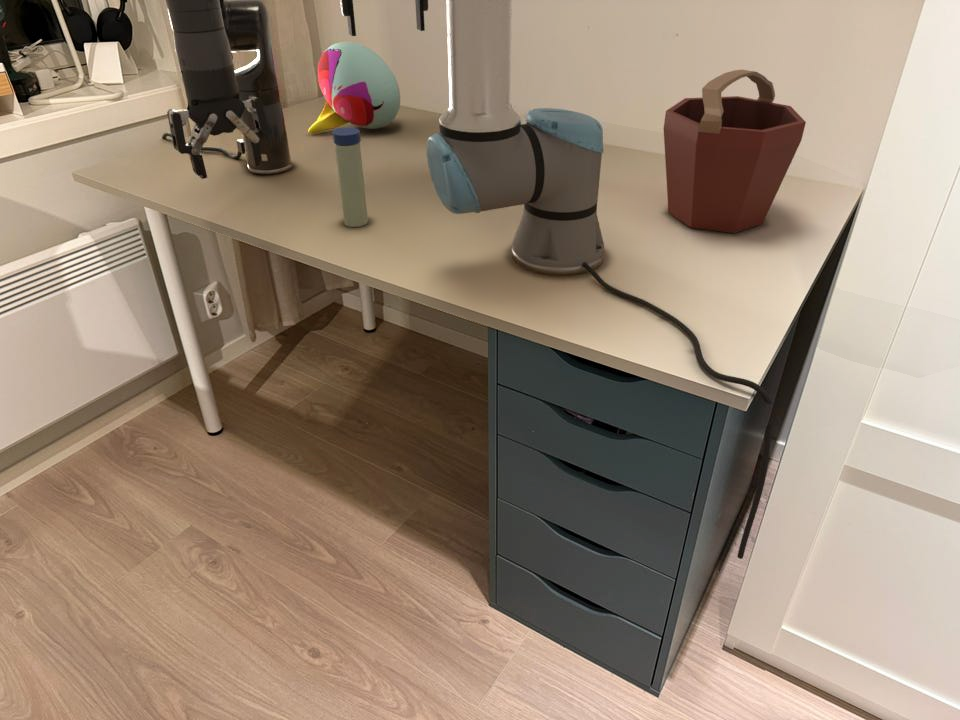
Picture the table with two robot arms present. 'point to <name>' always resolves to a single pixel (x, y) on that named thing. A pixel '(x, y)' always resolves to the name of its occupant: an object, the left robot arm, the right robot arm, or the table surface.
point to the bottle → (351, 184)
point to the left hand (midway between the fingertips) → (229, 171)
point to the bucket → (728, 154)
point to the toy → (355, 88)
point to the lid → (346, 136)
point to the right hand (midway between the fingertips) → (387, 32)
